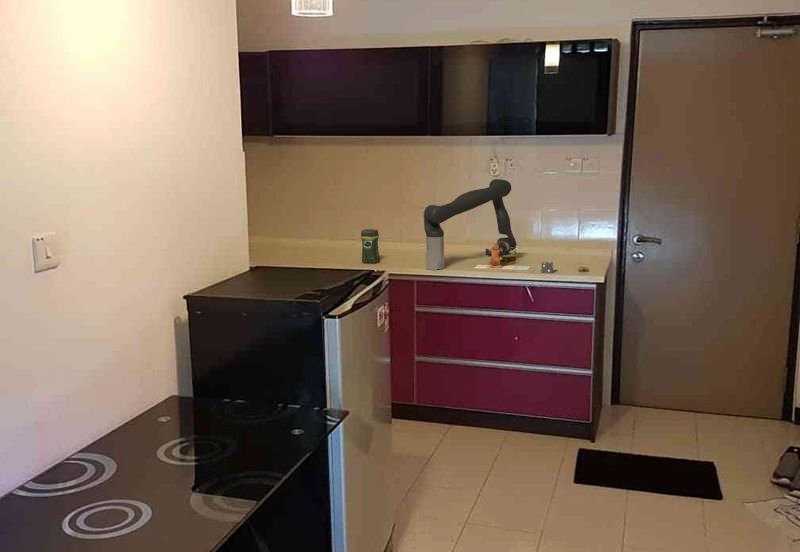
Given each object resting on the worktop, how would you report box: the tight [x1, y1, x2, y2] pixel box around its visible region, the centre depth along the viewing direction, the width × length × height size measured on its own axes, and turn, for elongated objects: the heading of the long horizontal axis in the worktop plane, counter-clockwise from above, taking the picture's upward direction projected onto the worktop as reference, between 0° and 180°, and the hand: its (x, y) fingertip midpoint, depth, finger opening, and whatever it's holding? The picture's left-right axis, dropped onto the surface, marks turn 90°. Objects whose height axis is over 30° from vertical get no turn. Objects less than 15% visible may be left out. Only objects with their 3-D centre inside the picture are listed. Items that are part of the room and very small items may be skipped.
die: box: [541, 261, 554, 274], centre depth 385 cm, size 5×5×5 cm
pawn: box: [489, 243, 502, 269], centre depth 393 cm, size 6×6×12 cm
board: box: [474, 264, 531, 271], centre depth 393 cm, size 29×12×2 cm, turn 72°
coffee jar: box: [360, 228, 381, 264], centre depth 422 cm, size 10×8×19 cm
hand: (494, 254), depth 390 cm, fingers closed on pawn, 4 cm apart
